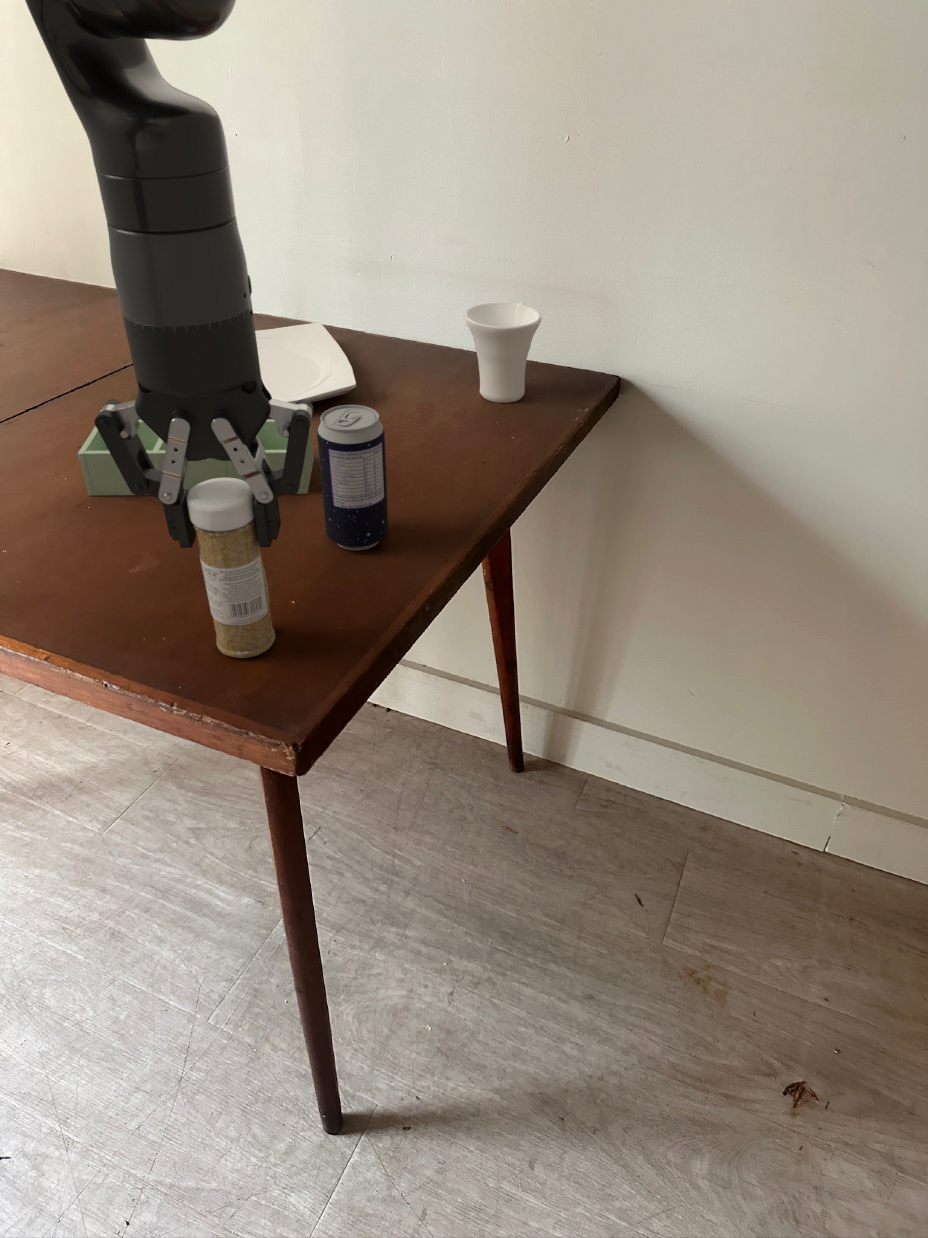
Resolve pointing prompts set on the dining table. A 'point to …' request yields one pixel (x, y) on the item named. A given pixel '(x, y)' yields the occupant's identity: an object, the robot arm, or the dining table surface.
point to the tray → (110, 481)
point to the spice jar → (232, 565)
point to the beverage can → (353, 476)
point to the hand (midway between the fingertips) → (228, 540)
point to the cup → (502, 347)
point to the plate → (303, 363)
